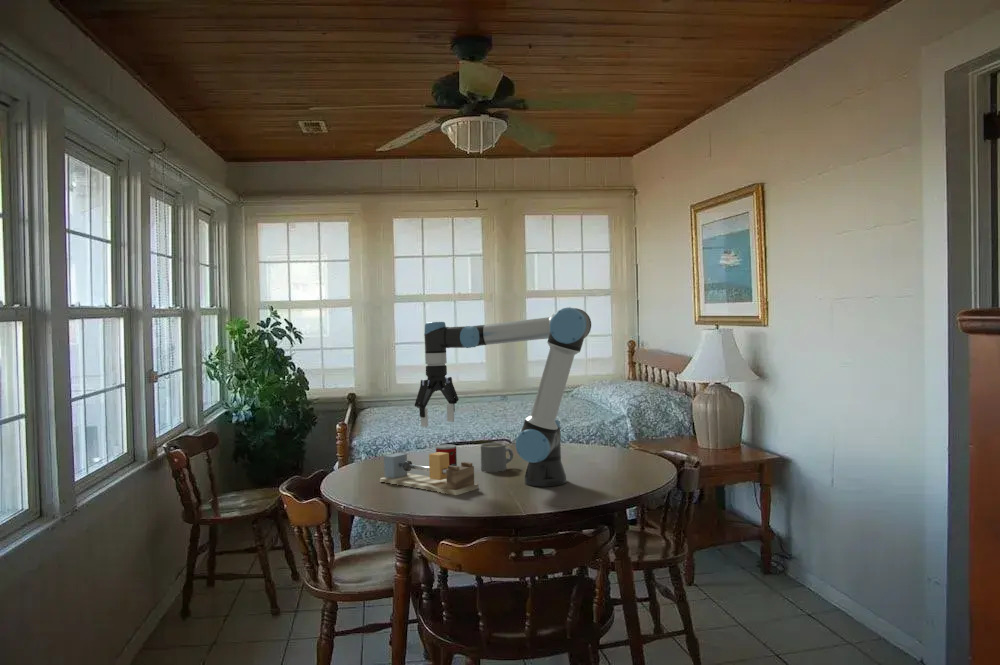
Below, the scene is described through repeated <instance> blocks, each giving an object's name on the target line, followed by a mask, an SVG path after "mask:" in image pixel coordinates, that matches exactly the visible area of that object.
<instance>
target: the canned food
mask: <svg viewBox="0 0 1000 665" xmlns="http://www.w3.org/2000/svg"><path fill="white" fill-rule="evenodd" d="M436 452H444V453H449V466H450V465H452V466H458V465H457V464H458V463H457V461H458V460H457V458H458V456H457V445H456V444H451V443H449V444H448V443H447V444H445V443H444V444H437V445H436V446H435V453H436Z"/></svg>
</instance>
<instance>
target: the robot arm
mask: <svg viewBox="0 0 1000 665" xmlns="http://www.w3.org/2000/svg"><path fill="white" fill-rule="evenodd" d="M591 329H592V320H591V318H590V316H589V314H588V313H587V312H586V311H584V310H583V309H581V308H574V307H571V306H570V307H563V308H561V309H559V310H558V311H556V312H555V313H553V314H552V315H551V316H550V317H542V318H541V317H540V318H531V319H523V320H516V321H515V320H514V321H506V322H504V321H503V322H497V323H489V324H480V325H472V326H471V325H465V326H447V325H446V322H444V321H427V322H425V324H424V334H423V337H424V349H425V351H424V353H425V355H424V357H425V364H426V366H425V376H426V377H427V379H421V380H420V386H419V389H418V394H417V395H416V398H415V399H416V400H415V402H414V407H416V408H418V409H419V410H418V411H419V418H420V427H424V428H427V427H429V419H428V418H429V415H428V407H427V405H428V403H429V401H430V400H431V398H432V396H433V394H434V393H435V392H437V391H438V392H439V391H440V392H441V393H442V395H443V397H444V398H445V399H446V401H447V402H448V403H446V418H447V422H450V423H454V422H455V411H456V410H455V409H456V408H455V406H456V405H455V404H457V403H458V402H459V396H458V394H457V391H456V389H455V387H454V384H453V377H451V376H447V375H448V371H447V370H448V369H447V365H446V364H447V363H448V362H447V349H455V348H456V349H460V348H461V349H463V348H465V349H471V348H476V347H480V346H487V345H488V346H489V345H499V344H507V343H509V344H510V343H517V342H526V341H537V340H547V342H546V343H547V344H548V346H549V351H548V354H547V357H546V361H545V365H544V368H543V372H542V375H541V379H540V382H539V386H538V389H537V392H536V397H535V399H534V403H533V406H532V411H531V414H530V415H527V416H526V417H525V418H524V422H523V425H522V428H521V432H519V434H518V436H517V437H516V440H515V450H516V452H517V454H518V455H519V457H520V458H521V459H522V460H524V461H525V462H528V463H527V467H526V470H525V474H524V484H526V485H529V486H532V487H540V488H542V487H544V488H545V487H556V486H557V487H559V486H562V485H564V484H566V483H567V475H566V472H565V468H564V466H563V463H562V450H561V447H562V446H561V445H562V444H561V442H562V441H561V423H560V420H559V419H557V416H558V414H559V410H560V406H561V402H562V399H563V395H564V392H565V388H566V385H567V382H568V379H569V375H570V372H571V368H572V365H573V361H574V358H575V355H577V354H579V353H580V352H581V350H582V347H583V343H584V340H585V339H586V337H587V336H589V334H590V333H591Z"/></svg>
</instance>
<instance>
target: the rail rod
mask: <svg viewBox="0 0 1000 665" xmlns="http://www.w3.org/2000/svg"><path fill="white" fill-rule="evenodd" d="M399 467H403V468H404V470H405V471H407V472H410V471H412V470H418V471H419V470H420V471H425V472H430V469H429V466H425V465H420V464H418V465H417V464H413V462H412V461H410V460H407V461H405V462H404V463H399ZM446 470H448V469H442V471H443V473H444V474H447V472H446Z"/></svg>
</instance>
